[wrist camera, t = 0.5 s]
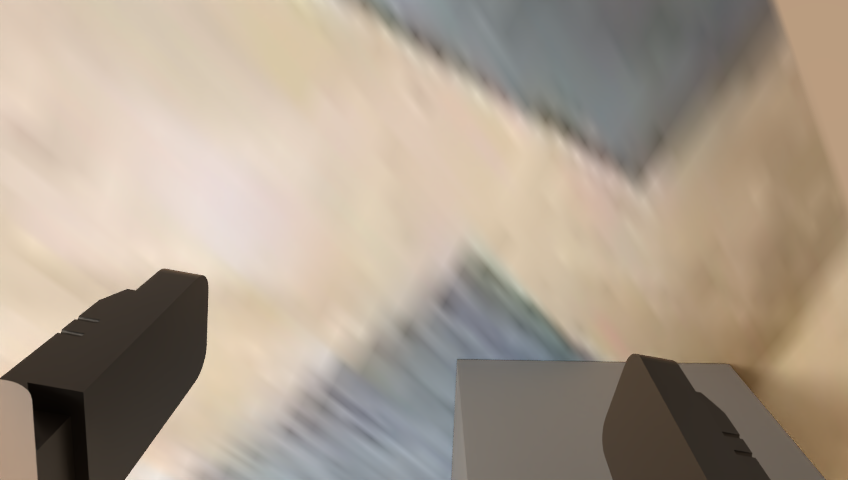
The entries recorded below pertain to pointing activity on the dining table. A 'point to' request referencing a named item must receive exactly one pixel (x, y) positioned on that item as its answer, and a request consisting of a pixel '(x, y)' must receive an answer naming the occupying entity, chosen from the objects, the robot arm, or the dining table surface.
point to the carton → (585, 420)
